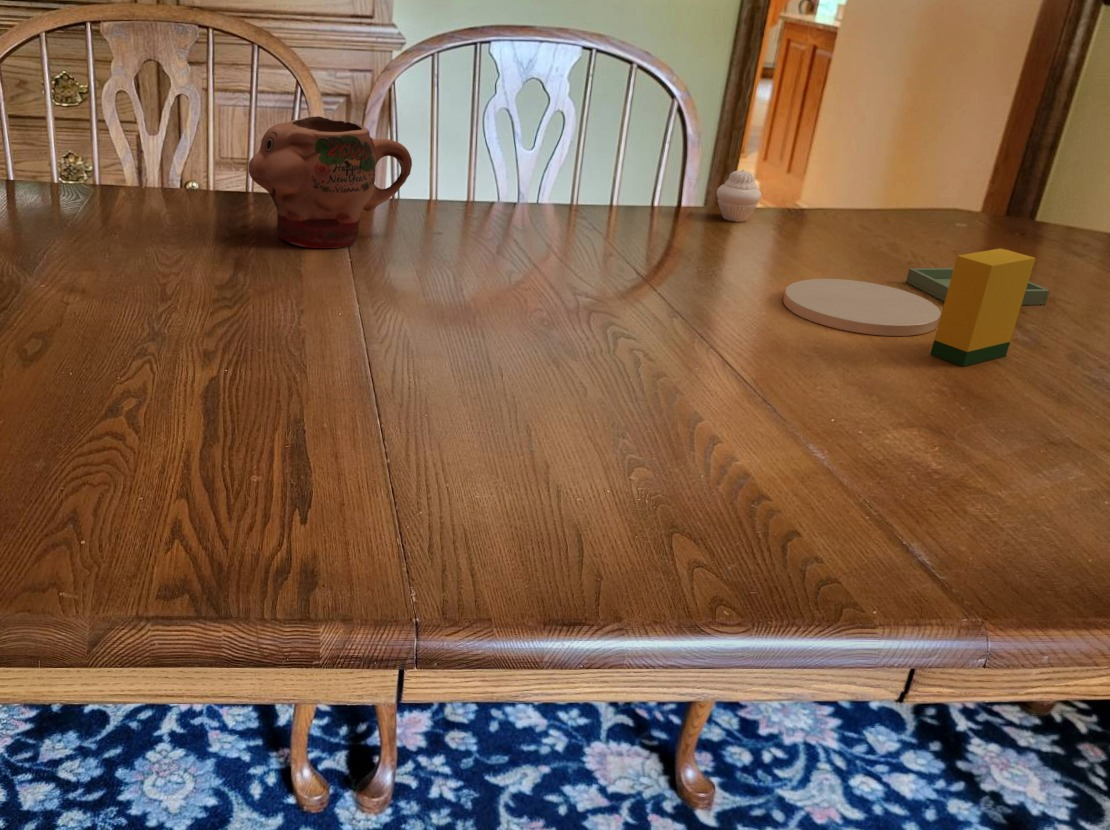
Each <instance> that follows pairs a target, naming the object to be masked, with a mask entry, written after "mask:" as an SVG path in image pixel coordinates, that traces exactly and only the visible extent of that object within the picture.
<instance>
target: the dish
mask: <svg viewBox="0 0 1110 830" xmlns="http://www.w3.org/2000/svg"><path fill="white" fill-rule="evenodd" d="M953 269H954V267H922V268H921V267H919V268H918V267H917V268H915V267H914V268H913V267H909V268H908V271H907V275H906V281H905V282H906V283H907V284H909V285H910V286H912V287H915V288H917V289H918V290H921V291H922V292H923V293H924V292H925V293H926V294H928V295H930V296H932V297H934V298H936V299H938V300H940V301H942V302H944V303H945V299H946V295H947V292H948V288H949V284H950V280H951V277H952V273H953ZM1050 292H1051V290H1050V289H1047V288H1045V287H1043V286H1041V285H1038V284H1037V283H1034V282H1032V281H1030V280H1029V281H1028V284H1027V288H1026V291H1025V294H1024V298H1023V301H1022V304H1021V306H1039V305H1040V304H1041V305H1040V306H1046V305H1047V301H1048V298H1049V295H1050ZM1045 304H1046V305H1045Z"/></svg>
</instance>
